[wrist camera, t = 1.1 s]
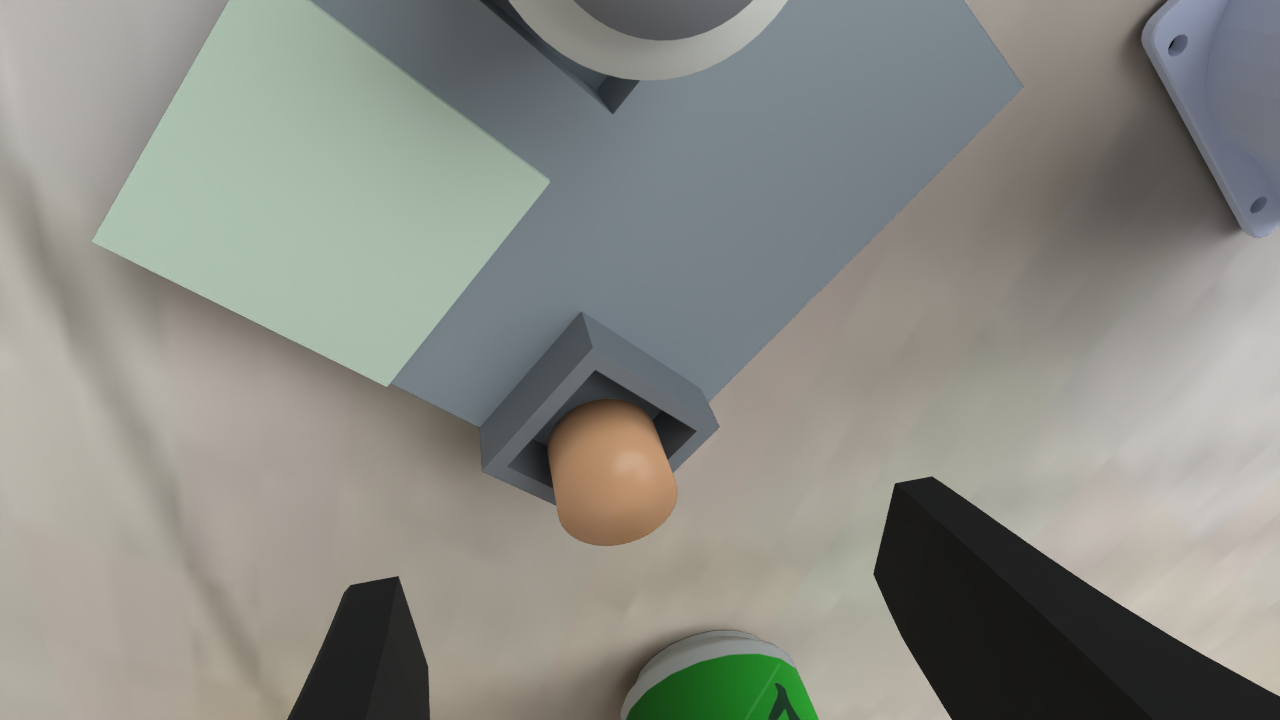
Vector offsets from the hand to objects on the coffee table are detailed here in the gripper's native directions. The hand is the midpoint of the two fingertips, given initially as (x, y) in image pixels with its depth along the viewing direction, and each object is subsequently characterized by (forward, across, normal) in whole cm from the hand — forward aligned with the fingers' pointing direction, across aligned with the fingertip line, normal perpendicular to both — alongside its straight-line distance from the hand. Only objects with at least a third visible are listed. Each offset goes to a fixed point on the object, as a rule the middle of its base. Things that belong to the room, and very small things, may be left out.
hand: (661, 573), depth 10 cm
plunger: (+6, 0, +3) cm, 7 cm away
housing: (+10, -1, -4) cm, 11 cm away
